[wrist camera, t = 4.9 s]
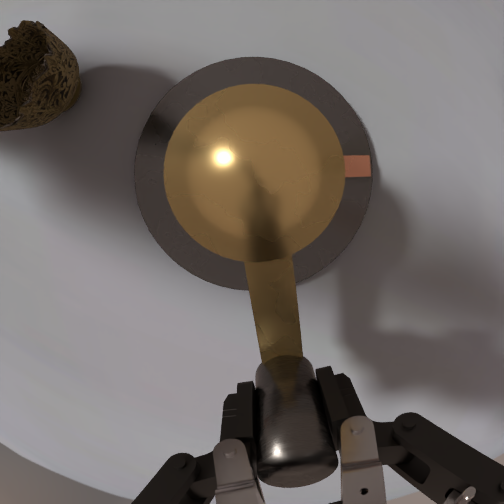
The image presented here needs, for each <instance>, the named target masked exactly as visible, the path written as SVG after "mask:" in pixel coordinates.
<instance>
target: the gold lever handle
mask: <svg viewBox="0 0 504 504" xmlns="http://www.w3.org/2000/svg"><path fill="white" fill-rule="evenodd" d="M164 185H165V191H166V195H167V199H168V202H169V204H170V207H171V209H172V212H173V213H174V215H175V217H176V219H177V221H178V222H179V223H180V225H181V226H182V227H183V229H184V230H185V231H186V232H187V233H188V234H189V235H190V236H191V237H192V238H193V239H194V240H195V241H196V242H198V243H199V244H200V245H201V246H203V247H205V248H206V249H208V250H210V251H211V252H213V253H216V254H218V255H220V256H222V257H226V258H229V259H232V260H237V261H243V262H244V264H245V270H246V276H247V281H248V287H249V293H250V298H251V304H252V309H253V315H254V321H255V326H256V332H257V337H258V343H259V348H260V354H261V359H262V363H261V364H260V365H259V367H258V368H257V371H256V376H255V381H256V444H257V447H256V458H257V476H258V478H259V479H260V480H261V481H262V482H264V483H266V484H268V485H271V486H276V487H283V488H293V487H301V486H306V485H310V484H314V483H316V482H319V481H321V480H323V479H325V478H327V477H328V476H330V475H331V474H332V473H333V472H334V471H335V470H336V468H337V466H338V458H337V454H336V450H335V446H334V443H333V439H332V435H331V431H330V428H329V424H328V420H327V416H326V413H325V409H324V405H323V402H322V398H321V395H320V391H319V387H318V384H317V380H316V377H315V373H314V370H313V367H312V364H311V363H310V361H309V360H308V359H306V358H305V357H303V352H302V341H301V331H300V321H299V312H298V303H297V294H296V285H295V277H294V268H293V260H292V254H293V253H295V252H297V251H299V250H301V249H303V248H304V247H306V246H307V245H309V244H310V243H311V242H313V241H314V240H315V239H316V238H317V237H318V236H319V235H320V234H321V233H322V232H323V231H324V230H325V228H326V227H327V226H328V225H329V223H330V222H331V220H332V219H333V217H334V215H335V213H336V211H337V209H338V207H339V204H340V201H341V198H342V195H343V190H344V185H345V162H344V156H343V152H342V148H341V145H340V142H339V139H338V137H337V135H336V133H335V131H334V129H333V127H332V126H331V125H330V123H329V122H328V120H327V119H326V118H325V116H324V115H323V114H322V113H321V112H320V111H319V110H318V109H317V108H316V107H315V106H314V105H312V104H311V103H310V102H309V101H307V100H306V99H304V98H303V97H301V96H299V95H297V94H295V93H293V92H291V91H289V90H286V89H283V88H280V87H277V86H272V85H266V84H243V85H237V86H232V87H228V88H225V89H223V90H220V91H217V92H215V93H213V94H211V95H209V96H208V97H206V98H204V99H203V100H201V101H200V102H199V103H197V104H196V105H195V106H194V107H193V108H192V109H191V110H190V111H188V112H187V114H186V115H185V116H184V117H183V118H182V120H181V121H180V122H179V124H178V126H177V127H176V129H175V130H174V132H173V134H172V137H171V139H170V141H169V144H168V147H167V151H166V154H165V161H164Z"/></svg>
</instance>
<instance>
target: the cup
mask: <svg viewBox="0 0 504 504" xmlns="http://www.w3.org/2000/svg"><path fill="white" fill-rule="evenodd" d="M8 35H9V36H10V38H11V39H9V40H7V41H5V43H4V44H5V45H3V46H1V47H0V131H9V130H18V129H27V128H34V127H38V126H41V125H44V124H46V123H48V122H50V121H52V120H53V119H55V118H56V117H57V116H59V115H60V114H61V113H62V112H65V111H67V110H69V109H70V108H71V107H72V106H73V105H74V104H75V103H76V102H77V100H78V98H79V96H80V93H81V89H82V83H81V79H80V77H79V66H78V63H77V59H76V57H75V55H74V54H73V52H72V51H71V50H70V49H69V47H68V46H67V45H65V44H64V43H63V42H62V41H61V40H60V39H59V38H58V37H57V36H56V35H54V34H53V33H52V32H51V31H50V30H48V29H47V28H46V27H45V26H44V25H43V24H42V23H40V22H38V21H36V23H34V22H33V21H25V20H23V21H21V23H20V25H19V26H18V27H17V28H16V27H12V28H10V29H9V30H8Z"/></svg>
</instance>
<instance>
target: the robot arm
mask: <svg viewBox="0 0 504 504" xmlns="http://www.w3.org/2000/svg"><path fill="white" fill-rule="evenodd" d="M316 379H317V384H318V387H319V391H320V395H321V398H322V402H323V405H324V409H325V413H326V416H327V420H328V424H329V428H330V431H331V435H332V439H333V443H334V446H335V450H336V451H337V450H339V453H340V457H341V501H337V502H333V503H329V504H386V493H385V484H384V475H383V467H382V465H388V466H389V467H391V468H392V469H393V470H394V471H395V472H397V473H398V474H399V475H400V476H402V477H403V478H404V479H405V480H407V481H408V482H409V483H411V484H412V485H413V486H414V487H416V488H417V489H418V490H420V491H421V492H422V493H424V494H425V495H426V496H428V497H429V498H430V499H431V500H433V501H434V502H436V503H437V504H504V466H503V465H501V464H499V463H497V462H496V461H494V460H492V459H491V458H489V457H487V456H485V455H484V454H482V453H480V452H479V451H477V450H475V449H474V448H472V447H470V446H469V445H467V444H465V443H464V442H462V441H460V440H459V439H457V438H456V437H454V436H452V435H451V434H449V433H448V432H446V431H444V430H443V429H441V428H440V427H438V426H436V425H435V424H433V423H432V422H430V421H429V420H427V419H425V418H424V417H422V416H421V415H419V414H417V413H413V412H409V413H404V414H401V415H400V416H398V417H397V418H396V419H395V421H394V422H375V421H372V420H371V419H369V418H368V417H367V416H366V415H365V413H364V410H363V408H362V405H361V403H360V401H359V398H358V396H357V394H356V392H355V389H354V387H353V385H352V382H351V380H350V378H349V377H347V376H346V375H345V374H343V373H341V374H337V375H334V373H333V371H332V368H331V366H327V367H323V368H318V369H316ZM222 417H223V418H222V425H221V436H220V442H219V443H218V444H217V445H216V446H215V447H214V449H213V451H212V452H210V453H208V454H205V455H202V456H199V457H195V458H194V457H193V456H192V455H190V454H187V453H178V454H175V455H173V456H171V457H170V458H169V459H168V460H167V461H166V462H165V464H164V465H163V466H162V467H161V469H160V470H159V471H158V472H157V474H156V475H155V476H154V477H153V478H152V480H151V481H150V482H149V483H148V485H147V486H146V487H145V488H144V489H143V490H142V492H141V493H140V494H139V495H138V496H137V498H136V499H135V500H134V501H133V502H132V503H131V504H210V502H211V501H212V499H213V497H214V496H215V497H216V504H266V503H265V499H264V496H263V492H262V489H261V485H260V482H259V478H258V476H257V458H256V447H257V444H256V390H255V386H254V383H253V381H249V382H242V383H238V384H237V393H236V394H229V395H228V396H227V398H226V399H225V401H224V405H223V415H222Z"/></svg>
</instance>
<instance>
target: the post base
mask: <svg viewBox="0 0 504 504" xmlns="http://www.w3.org/2000/svg"><path fill="white" fill-rule="evenodd" d="M243 84H266V85H272V86H277V87H280V88H283V89H286V90H289V91H291V92H293V93H295V94H297V95H299V96H301V97H303V98H304V99H306V100H307V101H309V102H310V103H311V104H312V105H314V106H315V107H316V108H317V109H318V110H319V111H320V112H321V113H322V114H323V115H324V116H325V118H326V119H327V120H328V122H329V123H330V125H331V126H332V127H333V129H334V131H335V133H336V135H337V137H338V139H339V142H340V145H341V148H342V152H343V156H344V162H345V185H344V190H343V195H342V198H341V201H340V204H339V207H338V209H337V211H336V213H335V215H334V217H333V219H332V220H331V222H330V223H329V225H328V226H327V227H326V228H325V230H324V231H323V232H322V233H321V234H320V235H319V236H318V237H317V238H316V239H315V240H314V241H313V242H311V243H310V244H309V245H307V246H306V247H304V248H303V249H301V250H299V251H297V252H295V253H293V254H292V260H293V268H294V277H295V283H297V282H299V281H302V280H304V279H306V278H308V277H310V276H312V275H314V274H315V273H317V272H319V271H320V270H322V269H323V268H324V267H326V266H327V265H328V264H330V263H331V262H332V261H333V260H334V259H335V258H336V257H337V256H338V255H339V254H340V253H341V252H342V251H343V250H344V249H345V248H346V247H347V245H348V244H349V243H350V241H351V240H352V239H353V237H354V235H355V234H356V232H357V230H358V229H359V227H360V225H361V223H362V220H363V218H364V215H365V213H366V210H367V207H368V203H369V199H370V195H371V187H372V160H371V153H370V148H369V145H368V141H367V138H366V135H365V132H364V130H363V127H362V125H361V123H360V121H359V119H358V117H357V116H356V114H355V112H354V111H353V109H352V108H351V106H350V105H349V104H348V103H347V101H346V100H345V99H344V98H343V96H342V95H341V94H340V93H339V92H338V91H337V90H336V89H335V88H333V87H332V86H331V85H330V84H329V83H327V82H326V81H325V80H323V79H322V78H321V77H319V76H318V75H316V74H314V73H312V72H311V71H309V70H307V69H305V68H303V67H300V66H298V65H295V64H292V63H290V62H286V61H282V60H278V59H273V58H264V57H241V58H235V59H229V60H224V61H221V62H218V63H214V64H211V65H209V66H206V67H204V68H202V69H200V70H198V71H196V72H194V73H193V74H191V75H189V76H188V77H186V78H185V79H183V80H182V81H180V82H179V83H178V84H177V85H176V86H174V87H173V88H172V89H171V90H170V91H169V92H168V93H167V94H166V95H165V96H164V97H163V99H162V100H161V101H160V102H159V103H158V105H157V106H156V108H155V109H154V111H153V112H152V113H151V115H150V117H149V119H148V121H147V123H146V125H145V127H144V129H143V132H142V135H141V137H140V140H139V143H138V148H137V153H136V158H135V171H134V175H135V189H136V195H137V200H138V204H139V207H140V210H141V213H142V216H143V218H144V221H145V223H146V225H147V227H148V229H149V231H150V232H151V234H152V235H153V237H154V238H155V240H156V241H157V243H158V244H159V245H160V247H161V248H162V249H163V250H164V251H165V252H166V253H167V255H168V256H169V257H171V258H172V259H173V260H174V261H175V262H176V263H177V264H178V265H180V266H181V267H183V268H184V269H186V270H187V271H188V272H190V273H191V274H193V275H195V276H197V277H199V278H201V279H203V280H205V281H207V282H210V283H213V284H216V285H219V286H222V287H227V288H231V289H238V290H248V291H249V287H248V281H247V276H246V270H245V264H244V262H243V261H237V260H232V259H229V258H226V257H222V256H220V255H218V254H216V253H213V252H211V251H210V250H208V249H206V248H205V247H203V246H201V245H200V244H199V243H198V242H196V241H195V240H194V239H193V238H192V237H191V236H190V235H189V234H188V233H187V232H186V231H185V230H184V229H183V227H182V226H181V225H180V223H179V222H178V221H177V219H176V217H175V215H174V213H173V212H172V209H171V207H170V204H169V202H168V199H167V195H166V191H165V185H164V161H165V154H166V151H167V147H168V144H169V141H170V139H171V137H172V134H173V132H174V130H175V129H176V127H177V126H178V124H179V122H180V121H181V120H182V118H183V117H184V116H185V115H186V114H187V112H188V111H190V110H191V109H192V108H193V107H194V106H195V105H196V104H197V103H199V102H200V101H201V100H203V99H204V98H206V97H208V96H209V95H211V94H213V93H215V92H217V91H220V90H223V89H225V88H228V87H232V86H237V85H243Z"/></svg>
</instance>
